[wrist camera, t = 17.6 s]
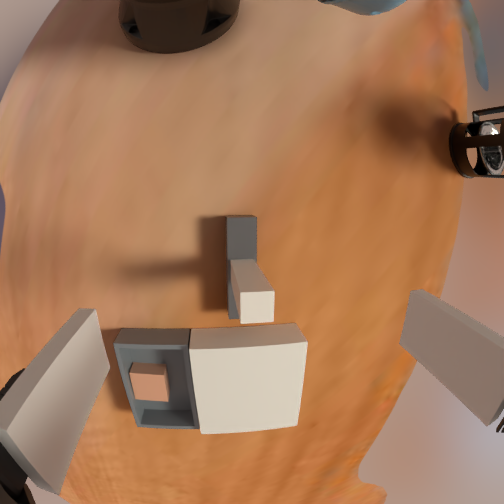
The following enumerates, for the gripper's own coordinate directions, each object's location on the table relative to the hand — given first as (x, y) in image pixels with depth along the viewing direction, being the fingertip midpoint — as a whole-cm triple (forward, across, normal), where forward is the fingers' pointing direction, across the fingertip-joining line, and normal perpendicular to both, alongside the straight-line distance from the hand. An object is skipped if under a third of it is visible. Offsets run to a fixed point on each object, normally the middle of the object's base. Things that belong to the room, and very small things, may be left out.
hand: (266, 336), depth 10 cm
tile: (+18, -11, -18) cm, 28 cm away
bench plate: (+22, +1, -18) cm, 28 cm away
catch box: (+21, -10, -18) cm, 30 cm away
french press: (+23, +38, +14) cm, 47 cm away
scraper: (+22, +1, -3) cm, 22 cm away
